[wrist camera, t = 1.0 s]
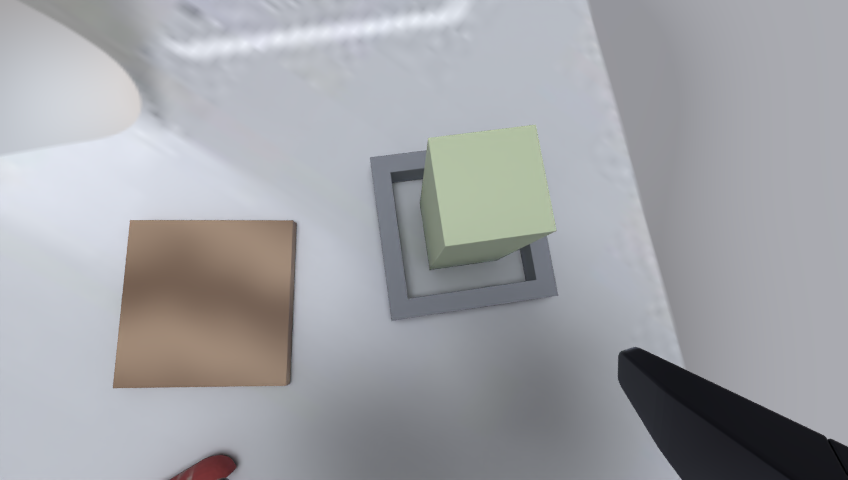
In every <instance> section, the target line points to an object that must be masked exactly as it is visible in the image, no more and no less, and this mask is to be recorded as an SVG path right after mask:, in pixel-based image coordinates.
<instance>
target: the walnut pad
mask: <svg viewBox="0 0 848 480" xmlns="http://www.w3.org/2000/svg"><path fill="white" fill-rule="evenodd" d="M296 226H297V223H296V222H294V221H273V220H130V226H129V236H128V246H127V255H126V265H125V275H124V285H123V294H122V304H121V314H120V324H119V333H118V343H117V353H116V363H115V372H114V382H113V388H155V387H226V386H286V385H288V384H289V383H290V373H291V349H292V324H293V299H294V275H295V250H296Z"/></svg>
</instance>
